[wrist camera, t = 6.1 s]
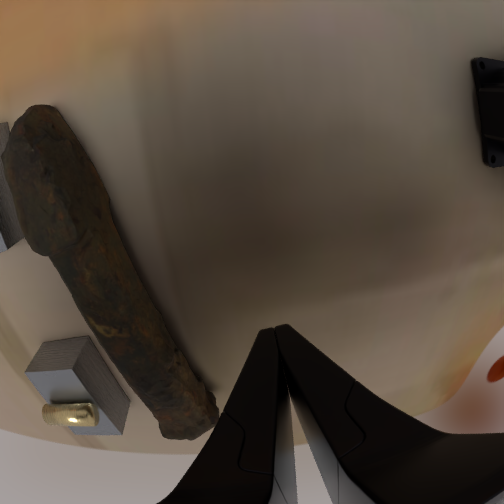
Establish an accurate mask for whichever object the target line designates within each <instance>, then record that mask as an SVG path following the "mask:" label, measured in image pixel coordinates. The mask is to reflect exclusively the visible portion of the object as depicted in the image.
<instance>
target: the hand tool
mask: <svg viewBox="0 0 504 504" xmlns="http://www.w3.org/2000/svg"><path fill="white" fill-rule="evenodd" d="M0 157H1V160H2V163H3V168H4V174H5V179H6V181H7V183H8V185H9V189H10V191H11V194H12V198H13V202H14V206H15V210H16V214H17V218H18V221H19V225H20V228H21V230H22V232H23V235H24V237H25V239H26V241H27V242H28V244H29V245H30V247H31V248H32V250H33V251H34V252H36V253H38V254H40V255H42V256H49V258H50V260H51V261H52V263H53V265H54V267H56V269H57V270H58V272H59V274H60V276H61V278H62V279H63V281H64V283H65V284H66V286H67V288H68V289H69V291H70V293H71V294H72V297H73V299H74V301H75V303H76V305H77V307H78V309H79V311H80V312H81V314H82V316H83V317H84V319H85V321H86V322H87V324H88V326H89V327H90V329H91V330H92V331H93V333H94V335H95V336H96V338H97V340H98V341H99V343H100V344H101V346H102V347H103V349H104V350H105V351H106V353H107V354H108V356H109V357H110V359H111V361H112V362H113V363H114V364H115V366H116V367H117V369H118V370H119V372H120V373H121V374H122V376H123V377H124V378H125V380H126V381H127V383H128V385H130V387H131V388H132V389H133V390H134V392H135V393H136V394H137V395H138V397H140V399H141V400H142V401H143V402H144V403H145V405H146V406H147V407H148V408H149V410H150V411H151V412H152V413H153V415H154V417H155V418H156V419H157V420H158V422H159V428H160V431H161V434H162V436H163V437H164V438H167V439H177V440H183V439H188V440H194V439H196V438H198V437H199V436H201V435H202V434H203V433H205V432H206V431H208V430H210V429H211V428H213V427H215V426H216V424H217V422H218V420H219V409H218V407H217V406H216V398H215V396H214V395H213V393H212V392H209V391H205V386H204V384H203V381H202V379H201V377H198V376H195V375H194V374H193V372H192V371H191V369H190V368H189V365H188V362H187V360H186V359H185V357H184V356H183V354H182V353H181V351H180V350H179V349H178V348H177V347H176V345H175V344H174V342H173V340H172V338H171V336H170V335H169V333H168V331H167V330H166V328H165V325H164V322H163V318H162V316H161V313H159V312H158V311H157V310H156V308H155V306H154V305H153V303H152V301H151V300H150V298H149V296H148V293H147V291H146V289H145V288H144V286H143V285H142V283H141V281H140V279H139V277H138V275H137V273H136V271H135V269H134V267H133V264H132V262H131V260H130V258H129V256H128V254H127V252H126V250H125V248H124V246H123V243H122V241H121V239H120V236H119V234H118V232H117V230H116V228H115V226H114V223H113V221H112V217H111V213H110V209H109V201H110V199H109V196H108V194H107V192H106V189H105V187H104V185H103V183H102V181H101V179H100V177H99V175H98V173H97V172H96V170H95V168H94V166H93V164H92V163H91V161H90V159H89V158H88V156H87V155H86V153H85V151H84V150H83V148H82V146H81V145H80V143H79V142H78V140H77V138H76V137H75V135H74V134H73V132H72V131H71V129H70V128H69V127H68V125H67V124H66V123H65V121H64V120H63V119H62V117H61V115H60V114H59V112H58V111H57V110H56V109H55V108H54V107H52V106H50V105H34V106H31V107H29V108H28V109H27V110H26V112H25V113H24V114H23V115H22V116H21V117H19V118H18V119H17V120H16V121H15V123H14V126H13V127H12V129H11V132H10V135H9V139H8V142H7V144H6V147H5V150H4V152H3V153H2V155H1V156H0Z"/></svg>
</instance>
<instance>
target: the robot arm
mask: <svg viewBox="0 0 504 504" xmlns="http://www.w3.org/2000/svg"><path fill="white" fill-rule="evenodd" d="M479 64H480V65H479ZM472 66H473V71H474V77H475V82H476V88H477V95H478V102H479V109H480V118H481V127H482V139H483V155H484V163H485V165H487V166H489V167H492V168H495V167H501V166H504V61H500V60H494V59H488V58H482V57H479V58H474V59H473V60H472ZM480 66H481V68H480ZM274 330H275V331H274ZM277 343H278V344H277ZM281 360H282V361H281ZM284 373H285V374H284ZM285 377H286V378H285ZM287 386H288V387H287ZM288 390H289V391H288ZM289 394H290V396H289ZM290 397H291V400H292V403H293V405H294V408H295V411H296V413H297V416H298V418H299V421H300V423H301V426H302V428H303V431H304V433H305V436H306V438H307V441H308V444H309V446H310V449H311V451H312V453H313V456H314V459H315V461H316V464H317V466H318V468H319V471H320V473H321V476H322V478H323V481H324V483H325V486H326V488H327V490H328V493H329V495H330V498H331V500H332V503H333V504H504V433H486V434H451V433H445V432H442V431H439V430H436V429H434V428H432V427H430V426H428V425H426V424H424V423H422V422H420V421H419V420H417V419H415V418H413V417H412V416H410V415H408V414H406V413H404V412H403V411H401V410H399V409H397V408H396V407H394V406H392V405H391V404H389V403H387V402H386V401H384V400H383V399H381V398H379V397H378V396H377V395H375V394H374V393H373V392H371V391H370V390H368V389H367V388H366V387H365V386H363V385H362V384H361V383H360V382H358V381H356V380H355V379H354V378H353V377H352V376H351V375H349V374H348V373H347V372H346V371H345V370H343V369H342V368H341V367H340V366H338V365H337V364H336V363H335V362H333V361H332V360H331V359H330V358H329V357H327V356H326V355H325V354H324V353H322V352H321V351H320V350H319V349H318V348H316V347H315V346H314V345H313V344H312V343H310V342H309V341H308V340H307V339H306V338H304V337H303V336H302V335H301V334H300V333H298V332H297V331H296V330H295V329H294V328H292V327H291V326H290V325H289V324H283V325H279V326H276V327H275V328H272V327H271V328H267V329H262V330H260V331H259V333H258V335H257V337H256V339H255V342H254V344H253V346H252V348H251V351H250V353H249V355H248V357H247V360H246V362H245V364H244V366H243V368H242V371H241V373H240V375H239V377H238V379H237V382H236V384H235V386H234V388H233V390H232V392H231V395H230V397H229V399H228V401H227V403H226V405H225V407H224V410H223V412H222V413H221V416H220V418H219V420H218V422H217V424H216V426H215V428H214V430H213V432H212V433H211V435H210V437H209V439H208V440H207V442H206V444H205V445H204V447H203V448H202V450H201V451H200V453H199V454H198V456H197V458H196V459H195V460H194V462H193V463H192V465H191V466H190V467H189V469H188V470H187V472H186V473H185V475H184V476H183V478H182V479H181V480H180V482H179V483H178V485H177V486H176V487H175V488H174V490H173V491H172V492H171V493H170V494H169V495H168V496H167V497H166V498H164V499H163V500H162V501H160V502H159V503H157V504H297V503H298V502H297V486H296V472H295V457H294V443H293V430H292V417H291V405H290Z"/></svg>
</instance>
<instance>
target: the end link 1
mask: <svg viewBox="0 0 504 504" xmlns="http://www.w3.org/2000/svg"><path fill="white" fill-rule="evenodd" d="M9 135H10V133H9V128H8V124H7V122H6V123H0V156H1V155H2V153H3V152H4V150H5V147H6V144H7V142H8V139H9ZM22 238H24V235H23V232H22V230H21V228H20V225H19V221H18V218H17V214H16V210H15V206H14V202H13V198H12V194H11V191H10V189H9V185H8V183H7V181H6V179H5V174H4V168H3V163H2V160H1V157H0V253H1V252H3V251H5V250H8V249H9V248H10V247H12V246H13V245H14V244H16V243H17V242H18V241H20V240H21V239H22Z"/></svg>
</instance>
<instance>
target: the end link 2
mask: <svg viewBox="0 0 504 504" xmlns="http://www.w3.org/2000/svg"><path fill="white" fill-rule="evenodd" d="M24 373H25V374H26V375H27V377H28V378H29V380H30V381H31V382H32V384H33V385H34V386H35V388H36V389H37V390H38V391H39V393H40V394H41V395H42V397H43V398H44V399H45V400H46V402H47V403H48V404H45V405H44V406H43V408H42V416H43V419H44V421H45V422H46V423H47V424H48V425H57V426H68V427H69V428H70V429H71V430H72V432H73V433H74V434H78V435H122V434H123V430H124V426H125V422H126V418H127V414H128V410H129V406H130V400H129V399H128V397H127V396H126V394H125V393H124V392H123V390H122V389H121V387H120V386H119V384H118V383H117V381H116V380H115V378H114V377H113V375H112V373H111V372H110V370H109V369H108V367H107V366H106V364H105V362H104V361H103V359H102V358H101V356H100V354H99V353H98V351H97V349H96V348H95V346H94V344H93V342H92V341H91V339H90V337H89V336H84V337H78V338H71V339H65V340H58V341H51V342H44V343H42V345H41V346H40V348H39V350H38V351H37V353H36V354H35V356H34V358H33V359H32V361H31V362H30V364H29V366H28V367H27V369H26V371H25V372H24Z"/></svg>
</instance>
